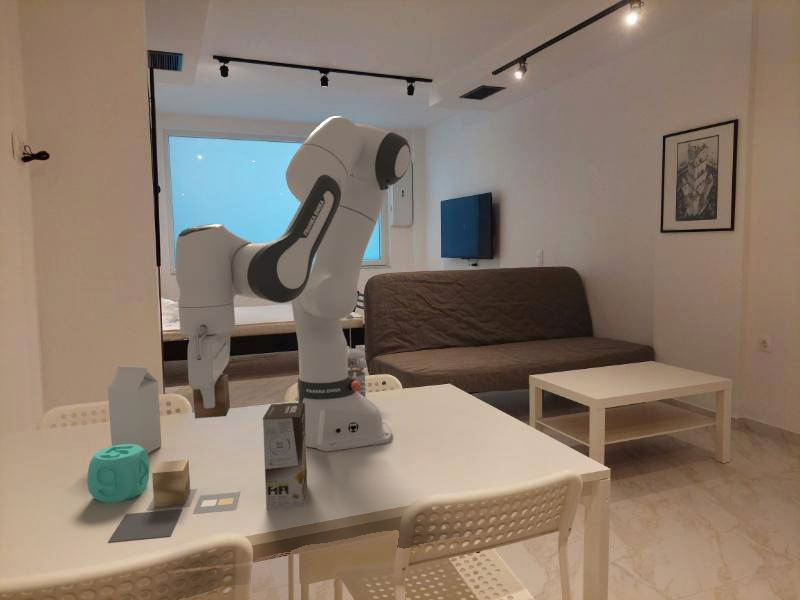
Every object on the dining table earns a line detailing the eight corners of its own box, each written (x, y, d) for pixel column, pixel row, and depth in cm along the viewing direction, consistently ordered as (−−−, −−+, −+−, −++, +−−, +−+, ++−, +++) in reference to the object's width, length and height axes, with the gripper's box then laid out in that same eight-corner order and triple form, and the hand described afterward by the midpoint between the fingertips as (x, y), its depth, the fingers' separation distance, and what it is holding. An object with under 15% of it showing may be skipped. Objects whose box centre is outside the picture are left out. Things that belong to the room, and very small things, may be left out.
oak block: (190, 491, 103) (188, 459, 102) (184, 504, 98) (182, 470, 97) (161, 494, 102) (159, 461, 101) (154, 506, 97) (152, 473, 96)
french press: (330, 406, 156) (327, 316, 154) (341, 395, 168) (339, 311, 165) (364, 407, 155) (363, 317, 152) (373, 396, 166) (372, 311, 163)
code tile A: (240, 493, 102) (240, 491, 102) (236, 511, 95) (236, 509, 95) (200, 497, 101) (199, 495, 101) (192, 515, 94) (192, 513, 94)
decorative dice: (151, 483, 107) (148, 442, 107) (136, 502, 100) (133, 458, 99) (106, 486, 106) (103, 444, 106) (88, 505, 99) (85, 461, 98)
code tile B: (197, 490, 104) (197, 488, 104) (189, 507, 97) (189, 506, 97) (156, 493, 103) (156, 492, 103) (146, 511, 96) (146, 509, 96)
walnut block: (229, 407, 100) (227, 374, 99) (226, 416, 95) (223, 381, 94) (200, 409, 99) (198, 376, 98) (194, 418, 94) (192, 383, 93)
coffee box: (303, 509, 96) (300, 417, 94) (265, 511, 95) (261, 418, 94) (307, 486, 105) (305, 401, 103) (273, 487, 105) (269, 403, 103)
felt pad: (182, 511, 96) (182, 508, 96) (170, 538, 87) (170, 535, 87) (125, 516, 94) (125, 514, 94) (108, 544, 85) (107, 541, 85)
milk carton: (141, 458, 120) (135, 370, 118) (112, 456, 121) (106, 369, 119) (161, 446, 127) (157, 363, 125) (133, 444, 128) (128, 362, 126)
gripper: (218, 330, 85) (224, 418, 87) (234, 312, 105) (238, 385, 107) (174, 332, 84) (181, 422, 86) (198, 314, 104) (204, 387, 106)
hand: (213, 401), depth 97 cm, fingers closed on walnut block, 5 cm apart
